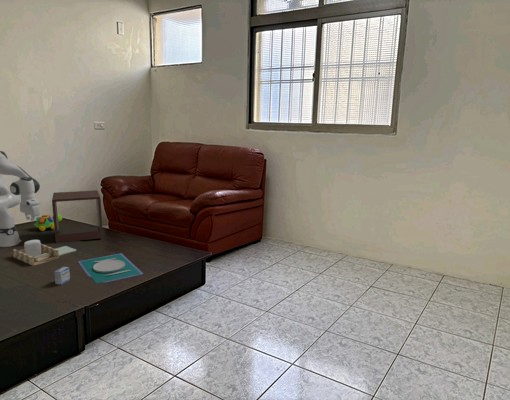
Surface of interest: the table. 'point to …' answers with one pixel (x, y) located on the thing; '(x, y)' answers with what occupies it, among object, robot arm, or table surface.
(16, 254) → the frame
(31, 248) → the photo printer
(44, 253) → the birch offcut
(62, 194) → the storage cube
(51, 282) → the table surface
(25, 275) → the table surface
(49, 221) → the turtle toy
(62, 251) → the sage board
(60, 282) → the medicine box
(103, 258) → the place mat
